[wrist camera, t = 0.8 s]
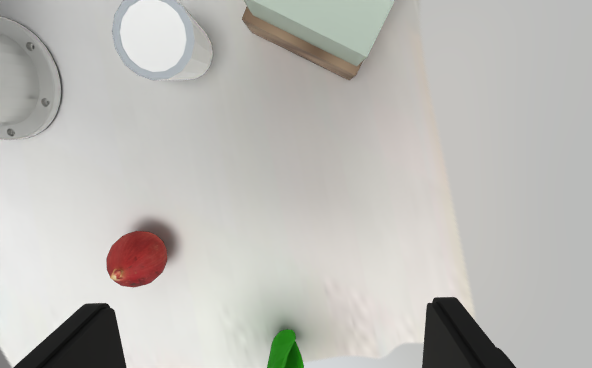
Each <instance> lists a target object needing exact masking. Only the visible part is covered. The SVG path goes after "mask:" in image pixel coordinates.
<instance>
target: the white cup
mask: <svg viewBox="0 0 592 368" xmlns="http://www.w3.org/2000/svg"><path fill="white" fill-rule="evenodd" d="M112 34H113V39H114V44H115V49H116V50H117V52H118V54H119V56H120V57H121V59H122V61H123V62H124V64H125V65H126V66H127V67H129V68H130V69H131V70H132V71H133V72H135V73H136V74H137V75H139V76H142V77H145V78H148V79H151V80H191V79H197V78H198V77H200V76H202V75H204V74H205V72H206V71H207V70H208V68H209V67H210V65H211V61H212V57H213V51H212V43H211V41H210V40H209V38H208V36H207V34H206V32H205V31H204V30H203V29H202V28H201V27H200V25H199V24H198V23H197V22H196V21H195V20H194V19H193V17H192V16H191V15H190V14H189V13H188V12H187V11H186V9H185V8H184V7H183V6H182V5H181V4H179V3H178V2H177V1H176V0H123V2H122V4H121V5H120V7H119V8H118V10H117V11H116V13H115V16H114V22H113V29H112Z"/></svg>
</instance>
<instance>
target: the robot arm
mask: <svg viewBox="0 0 592 368" xmlns="http://www.w3.org/2000/svg"><path fill="white" fill-rule="evenodd" d="M60 97H61V85H60V78H59V74H58V70H57V67H56V65H55V63H54V60H53V58H52V56H51V55H50V53H49V51H48V50H47V48H46V47H45V45H44V44H43V43H42V42H41V41H40V40H39V38H38V37H37V36H36V35H34V34H33V33H32V32H31V31H30V30H28V29H27V28H26V27H24V26H22V25H21V24H19V23H17V22H15V21H13V20H10V19H7V18H4V17H1V16H0V139H4V140H15V139H23V138H29V137H32V136H34V135H37V134H38V133H40V132H41V131H43V130H44V129H46V128H47V126H48V125H49V124H50V123H51V122H52V121H53V119H54V117H55V115H56V114H57V111H58V108H59V104H60ZM423 351H424V352H423V365H422V368H516V367H515V366H514V364H513V363H512V362H511V361H510V359H509V358H508V357H507V356H506V355H505V354H504V353H503V351H502V350H500V349H499V348H497V347H495V345H494V344H493V343H492V342H491V340H490V339H489V338H488V337H487V335H486V334H485V333H484V332H483V330H482V329H481V328H480V327H479V325H478V324H477V323H476V322H475V320H474V319H473V318H472V317H471V315H470V314H469V313H468V312H467V310H466V309H465V308H464V307H463V305H462V304H461V303H460V302H459V300H458V299H457V298H455V297H440V298H434V299H433V302H432V303H428V304H427V310H426V323H425V337H424V350H423ZM14 368H126V363H125V358H124V354H123V349H122V344H121V339H120V334H119V329H118V325H117V320H116V315H115V311H114V310H113V309H112V308H110V306H109V305H108V304H106V303H92V304H85V305H83V306H82V307H81V308H79V309H78V310H77V311H76V312H75V313H74V314H73V315H72V316H70V317H69V318H68V319H67V320H66V321H65V322H64V323H63V324H62V325H60V326H59V327H58V328H57V329H56V330H55V331H54V332H53V333H51V334H50V335H49V336H48V337H47V338H46V339H45V340H44V341H43V342H41V343H40V344H39V345H38V346H37V347H36V348H35V349H34V350H32V351H31V352H30V353H29V354H28V355H27V356H26V357H25V358H24V359H22V360H21V361H20V362H19V363H18V364H17V365H16V366H15V367H14Z"/></svg>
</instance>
